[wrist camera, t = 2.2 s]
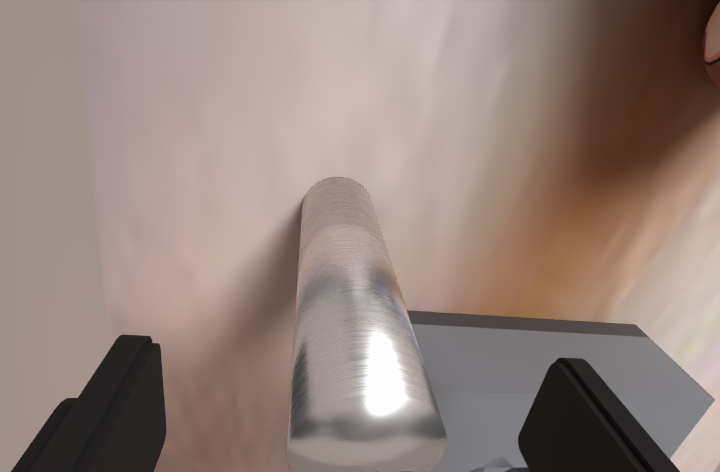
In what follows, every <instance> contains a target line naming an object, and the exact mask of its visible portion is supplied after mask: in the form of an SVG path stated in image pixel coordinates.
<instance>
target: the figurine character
mask: <svg viewBox="0 0 720 472" xmlns="http://www.w3.org/2000/svg"><path fill="white" fill-rule="evenodd" d="M702 57H703V63H704V66H705V69H706V71H707V73H708V75H709V76H710V78H711V79H712V81H713V82H714V83H715V84H716V85H717V86H718V87H719V88H720V2H719V3H718V5H717V6H716V8H715V9H714V11H713V13H712V15H711V17H710V19H709V21H708V23H707V26H706V29H705V32H704V36H703V42H702Z"/></svg>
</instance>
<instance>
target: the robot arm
mask: <svg viewBox="0 0 720 472" xmlns="http://www.w3.org/2000/svg"><path fill="white" fill-rule="evenodd" d="M165 436H166V417H165V404H164V390H163V377H162V363H161V349H160V345H159V344H158V343H152V339H151V337H150V336H137V335H121V336H119V337H118V338H117V340H116V341H115V343H114V344H113V346H112V347H111V349H110V350H109V352H108V353H107V355H106V356H105V358H104V359H103V361H102V362H101V364H100V365H99V367H98V368H97V370H96V371H95V373H94V374H93V376H92V377H91V379H90V380H89V382H88V384H87V385H86V386H85V388H84V390H83V391H82V393H81V394H80V396H79V397H78V398H67V399H65V400H64V401H62V402H61V403H60V404H59V405H58V406H57V408H56V409H55V410H54V411H53V413H52V414H51V416H50V417H49V419H48V420H47V421H46V423H45V424H44V426H43V427H42V428H41V430H40V431H39V433H38V434H37V436H36V437H35V439H34V440H33V442H32V443H31V444H30V446H29V447H28V448H27V450H26V451H25V453H24V454H23V455H22V457H21V458H20V460H19V461H18V463H17V464H16V466H15V467H14V468H13V470H12V471H11V472H154V469H155V466H156V464H157V461H158V458H159V456H160V453H161V450H162V448H163V445H164V441H165ZM518 446H519V450H520V452H521V454H522V456H523V458H524V460H525V462H526V464H527V466H528V468H529V470H530V472H680V471H679V470H678V469H677V468H676V466H675V465H674V464H673V463H672V462H671V460H670V459H669V458H668V457H667V456H666V454H665V453H664V452H663V451H662V450H661V448H660V447H659V446H658V445H657V444H656V443H655V441H654V440H653V439H652V438H651V437H650V435H649V434H648V433H647V432H646V431H645V429H644V428H643V427H642V426H641V425H640V423H639V422H638V421H637V420H636V419H635V417H634V416H633V415H632V414H631V413H630V412H629V410H628V409H627V408H626V407H625V406H624V404H623V403H622V402H621V401H620V400H619V398H618V397H617V396H616V395H615V394H614V392H613V391H612V390H611V389H610V388H609V387H608V385H607V384H606V383H605V382H604V381H603V379H602V378H601V377H600V376H599V375H598V373H597V372H596V371H595V370H594V369H593V367H592V366H591V365H590V364H589V363H588V362H587V361H586V360H584V359H582V358H558V359H557V360H556V361H555V363H552V364H551V365H550V367H549V369H548V371H547V373H546V375H545V377H544V380H543V382H542V384H541V386H540V389H539V391H538V393H537V395H536V397H535V400H534V402H533V404H532V406H531V409H530V411H529V413H528V415H527V418H526V420H525V422H524V424H523V426H522V429H521V431H520V433H519V436H518Z"/></svg>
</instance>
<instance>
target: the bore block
mask: <svg viewBox="0 0 720 472" xmlns="http://www.w3.org/2000/svg"><path fill="white" fill-rule="evenodd" d="M407 312H408V316H409V319H410V322H411V325H412V328H413V331H414V334H415V337H416V340H417V344H418V347H419V350H420V353H421V356H422V359H423V362H424V365H425V368H426V372H427V375H428V378H429V381H430V384H431V387H432V390H433V393H434V396H435V400H436V403H437V406H438V409H439V412H440V415H441V418H442V421H443V424H444V428H445V431H446V437H447V440H446V447H445V451H444V453H443V455H442V457H441V459H440V461H439V462H438V464H437V465H436V466H435V467H434V468H433V469H432V471H430V472H530V470H529V468H528V466H527V464H526V462H525V460H524V458H523V456H522V454H521V452H520V450H519V446H518V436H519V433H520V431H521V429H522V426H523V424H524V422H525V420H526V418H527V415H528V413H529V411H530V409H531V406H532V404H533V402H534V400H535V397H536V395H537V393H538V391H539V389H540V386H541V384H542V382H543V380H544V377H545V375H546V373H547V371H548V369H549V367H550V365H551V364H552V363H555V361H556V360H557V359H558V358H582V359H584V360H586V361H587V362H588V363H589V364H590V365H591V366H592V367H593V369H594V370H595V371H596V372H597V373H598V375H599V376H600V377H601V378H602V379H603V381H604V382H605V383H606V384H607V385H608V387H609V388H610V389H611V390H612V391H613V392H614V394H615V395H616V396H617V397H618V398H619V400H620V401H621V402H622V403H623V404H624V406H625V407H626V408H627V409H628V410H629V412H630V413H631V414H632V415H633V416H634V417H635V419H636V420H637V421H638V422H639V423H640V425H641V426H642V427H643V428H644V429H645V431H646V432H647V433H648V434H649V435H650V437H651V438H652V439H653V440H654V441H655V443H656V444H657V445H658V446H659V447H660V448H661V450H662V451H663V452H664V453H665V454H666V456H667V457H668V458H669V459H670V458H671V456H672V455H673V454H674V452H675V451H676V450H677V449H678V447H679V446H680V445H681V443H682V442H683V441H684V439H685V438H686V437H687V436H688V434H689V433H690V432H691V430H692V429H693V428H694V426H695V425H696V424H697V423H698V421H699V420H700V419H701V417H702V416H703V415H704V414H705V412H706V411H707V410H708V408H709V407H710V406H711V404H712V403H713V402H714V401H715V399H714V398H713V397H712V396H711V395H710V394H708V393H707V392H706V391H705V390H704V389H703V388H702V387H701V386H700V385H699V384H698V383H697V382H696V381H695V380H694V379H693V378H691V377H690V376H689V375H688V374H687V373H686V372H685V371H684V370H683V369H682V368H681V367H680V366H679V365H678V364H677V363H676V362H675V361H673V360H672V359H671V358H670V357H669V356H668V355H667V354H666V353H665V352H664V351H663V350H662V349H661V348H660V347H659V346H658V345H656V344H655V343H654V342H653V341H652V340H651V339H650V338H649V337H648V336H647V335H646V334H645V333H644V332H643V331H642V330H641V329H639V328H638V327H637V326H636V325H631V324H615V323H599V322H582V321H566V320H550V319H534V318H517V317H501V316H485V315H469V314H452V313H436V312H420V311H407Z"/></svg>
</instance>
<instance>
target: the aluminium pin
mask: <svg viewBox="0 0 720 472" xmlns="http://www.w3.org/2000/svg"><path fill="white" fill-rule="evenodd" d="M446 440H447V437H446V431H445V428H444V424H443V421H442V418H441V415H440V412H439V409H438V406H437V403H436V400H435V396H434V393H433V390H432V387H431V384H430V381H429V378H428V375H427V372H426V368H425V365H424V362H423V359H422V356H421V353H420V350H419V347H418V344H417V340H416V337H415V334H414V331H413V328H412V325H411V322H410V319H409V316H408V312H407V309H406V306H405V303H404V300H403V297H402V294H401V291H400V288H399V284H398V281H397V278H396V275H395V272H394V269H393V266H392V263H391V260H390V256H389V253H388V250H387V247H386V244H385V241H384V238H383V235H382V232H381V228H380V225H379V222H378V219H377V216H376V213H375V210H374V207H373V204H372V200H371V197H370V195H369V193H368V192H367V191H366V189H365V188H364V187H363V186H362V185H361V184H359V183H358V182H356V181H354V180H352V179H349V178H344V177H332V178H327V179H324V180H322V181H320V182H318V183H317V184H315V185H314V186H313V187H312V188H311V189H310V190H309V191H308V193H307V194H306V196H305V198H304V201H303V205H302V217H301V233H300V249H299V265H298V281H297V297H296V313H295V328H294V344H293V360H292V376H291V392H290V408H289V424H288V439H287V462H288V465H289V468H290V470H291V472H430V471H432V469H433V468H434V467H435V466H436V465H437V464H438V462H439V461H440V459H441V457H442V455H443V453H444V451H445V447H446Z"/></svg>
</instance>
